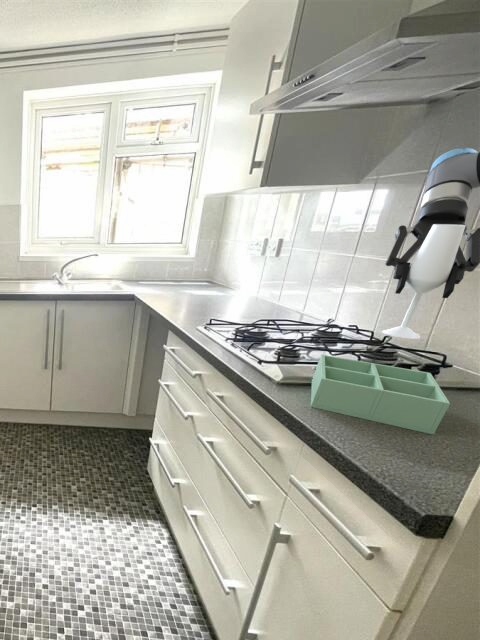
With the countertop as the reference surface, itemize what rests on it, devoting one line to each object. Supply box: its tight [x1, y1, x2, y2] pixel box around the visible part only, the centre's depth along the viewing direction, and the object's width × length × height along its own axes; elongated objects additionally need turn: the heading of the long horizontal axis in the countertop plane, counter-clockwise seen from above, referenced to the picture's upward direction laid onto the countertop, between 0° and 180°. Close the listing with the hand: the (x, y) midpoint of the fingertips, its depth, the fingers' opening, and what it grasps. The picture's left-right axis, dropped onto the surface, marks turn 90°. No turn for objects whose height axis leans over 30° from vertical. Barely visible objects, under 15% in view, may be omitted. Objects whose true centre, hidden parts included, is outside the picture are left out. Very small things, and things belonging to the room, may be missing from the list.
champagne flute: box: [381, 224, 467, 340], centre depth 92 cm, size 7×7×24 cm
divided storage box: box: [310, 354, 451, 436], centre depth 91 cm, size 19×19×7 cm
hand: (423, 292), depth 90 cm, fingers closed on champagne flute, 7 cm apart
